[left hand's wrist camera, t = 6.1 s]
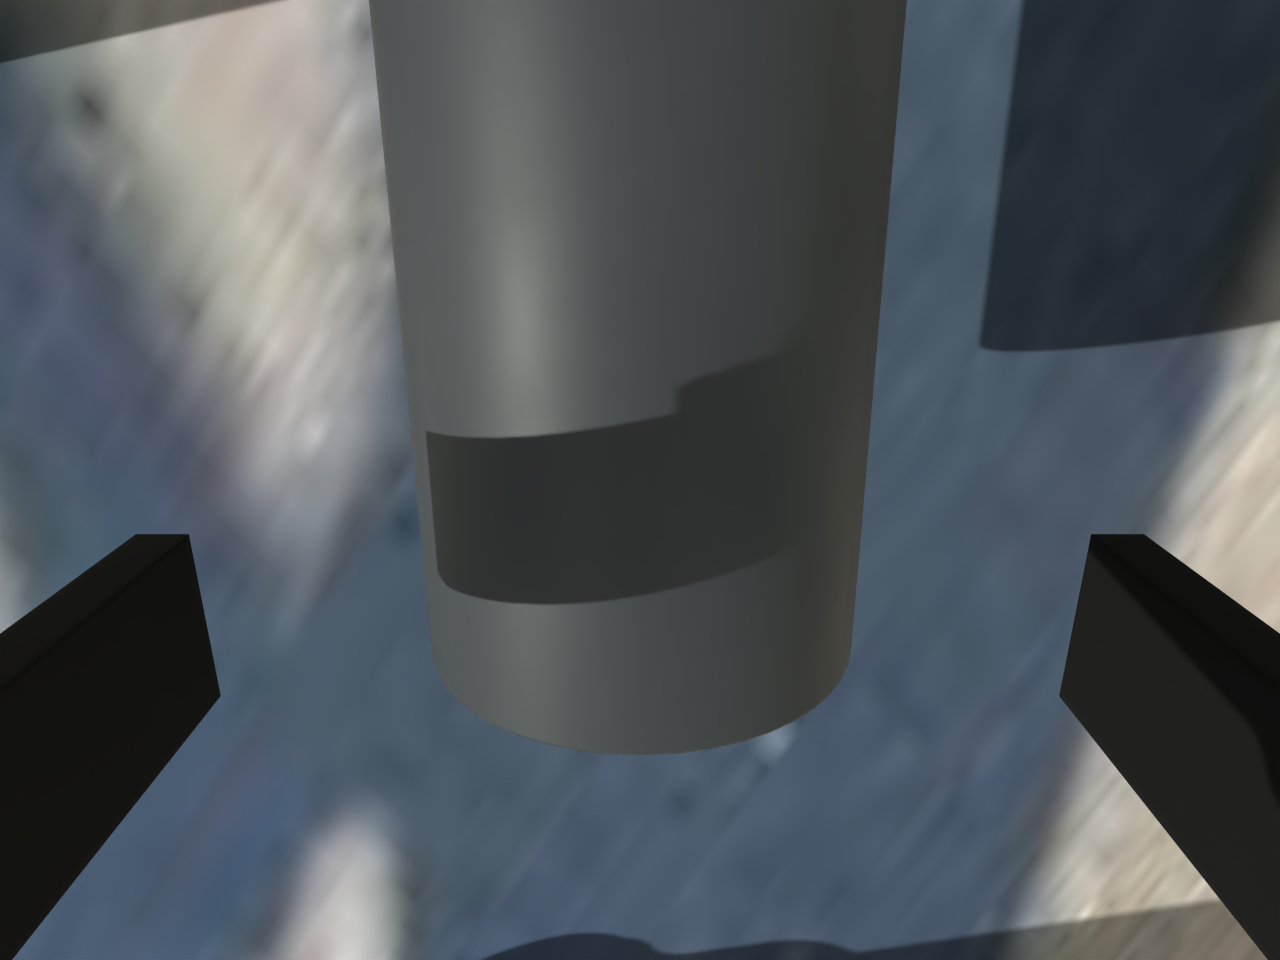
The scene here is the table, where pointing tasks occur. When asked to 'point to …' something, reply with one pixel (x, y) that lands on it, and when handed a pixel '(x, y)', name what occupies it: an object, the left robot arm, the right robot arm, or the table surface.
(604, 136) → the dark grey cylinder
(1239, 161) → the table surface
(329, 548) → the table surface
